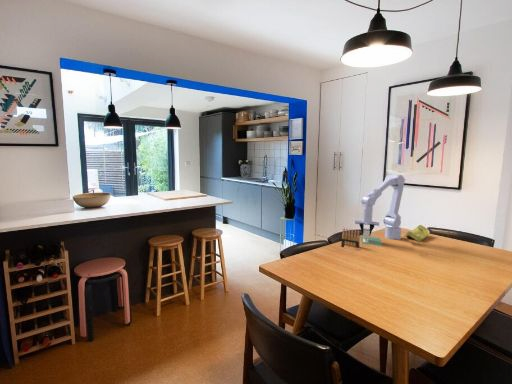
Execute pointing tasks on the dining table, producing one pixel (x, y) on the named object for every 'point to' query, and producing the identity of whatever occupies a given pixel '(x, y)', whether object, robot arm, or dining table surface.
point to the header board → (371, 241)
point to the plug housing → (366, 233)
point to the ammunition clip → (350, 238)
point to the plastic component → (418, 233)
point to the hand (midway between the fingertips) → (366, 235)
